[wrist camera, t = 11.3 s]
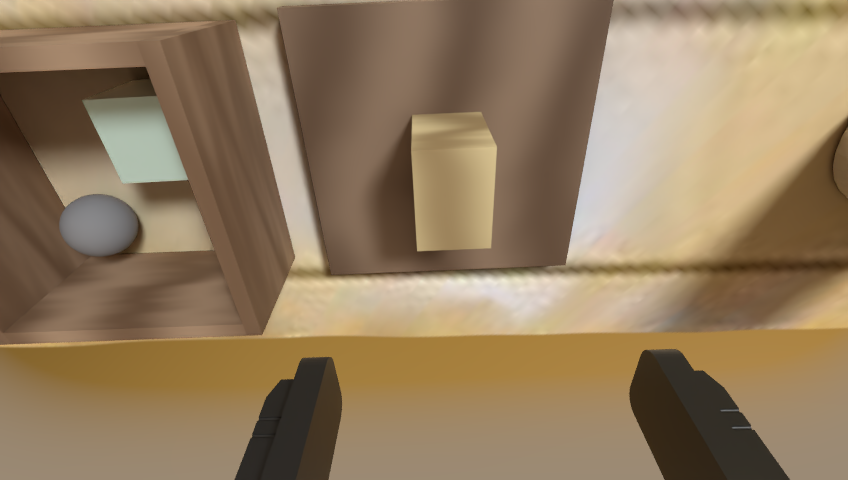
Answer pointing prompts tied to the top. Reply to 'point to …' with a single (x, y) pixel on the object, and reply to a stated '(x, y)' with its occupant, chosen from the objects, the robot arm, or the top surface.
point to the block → (135, 133)
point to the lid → (446, 127)
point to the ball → (98, 225)
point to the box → (209, 179)
